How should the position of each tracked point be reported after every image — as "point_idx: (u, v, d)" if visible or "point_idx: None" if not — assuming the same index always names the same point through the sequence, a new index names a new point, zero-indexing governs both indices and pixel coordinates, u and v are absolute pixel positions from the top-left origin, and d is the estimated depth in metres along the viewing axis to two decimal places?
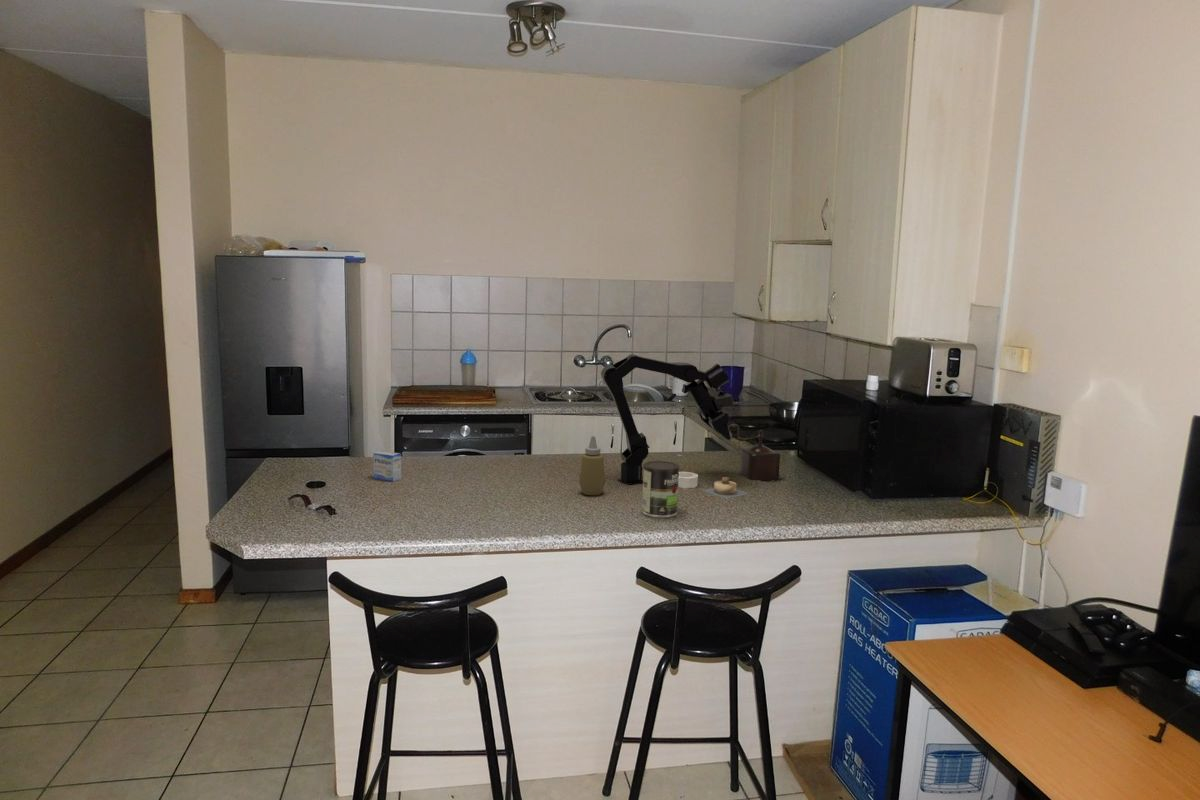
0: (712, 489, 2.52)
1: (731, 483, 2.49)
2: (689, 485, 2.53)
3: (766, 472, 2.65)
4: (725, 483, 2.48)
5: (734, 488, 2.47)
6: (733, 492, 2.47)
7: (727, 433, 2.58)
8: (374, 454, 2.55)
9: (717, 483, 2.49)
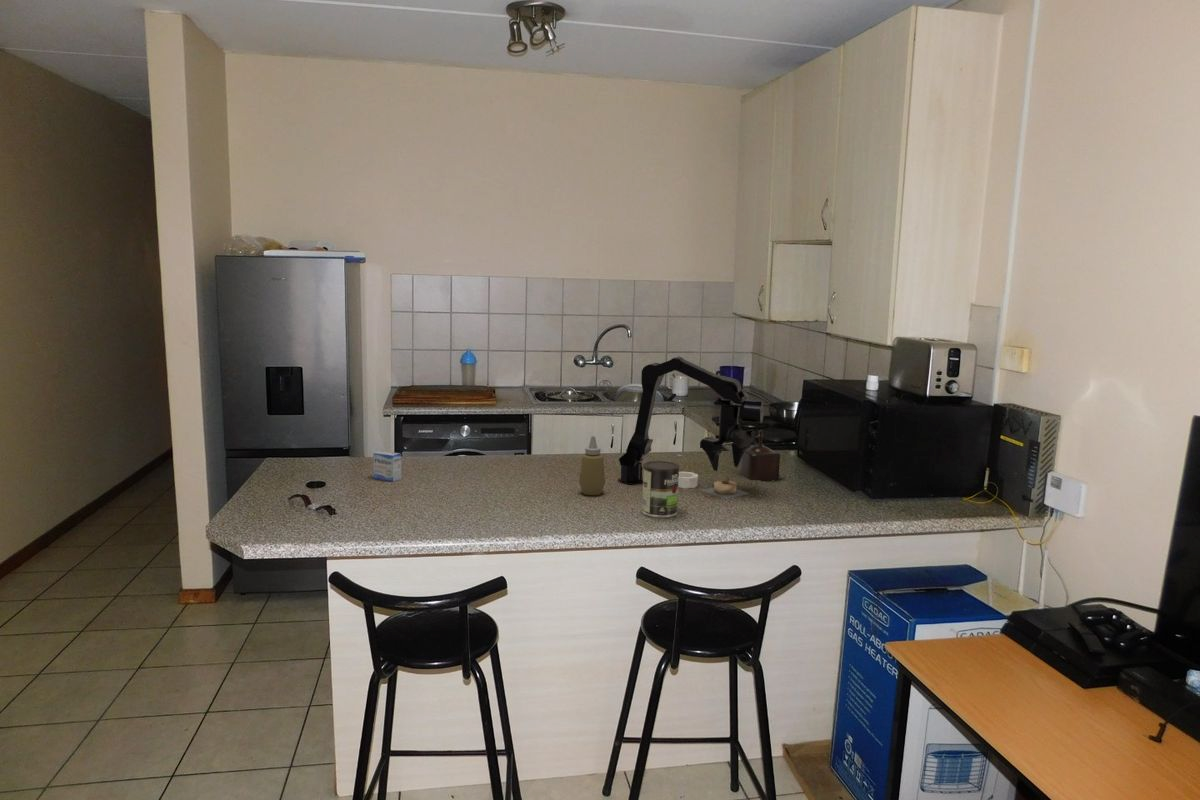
0: (712, 489, 2.52)
1: (731, 483, 2.49)
2: (689, 485, 2.53)
3: (766, 472, 2.65)
4: (725, 483, 2.48)
5: (734, 488, 2.47)
6: (733, 492, 2.47)
7: (714, 463, 2.45)
8: (374, 454, 2.55)
9: (717, 483, 2.49)
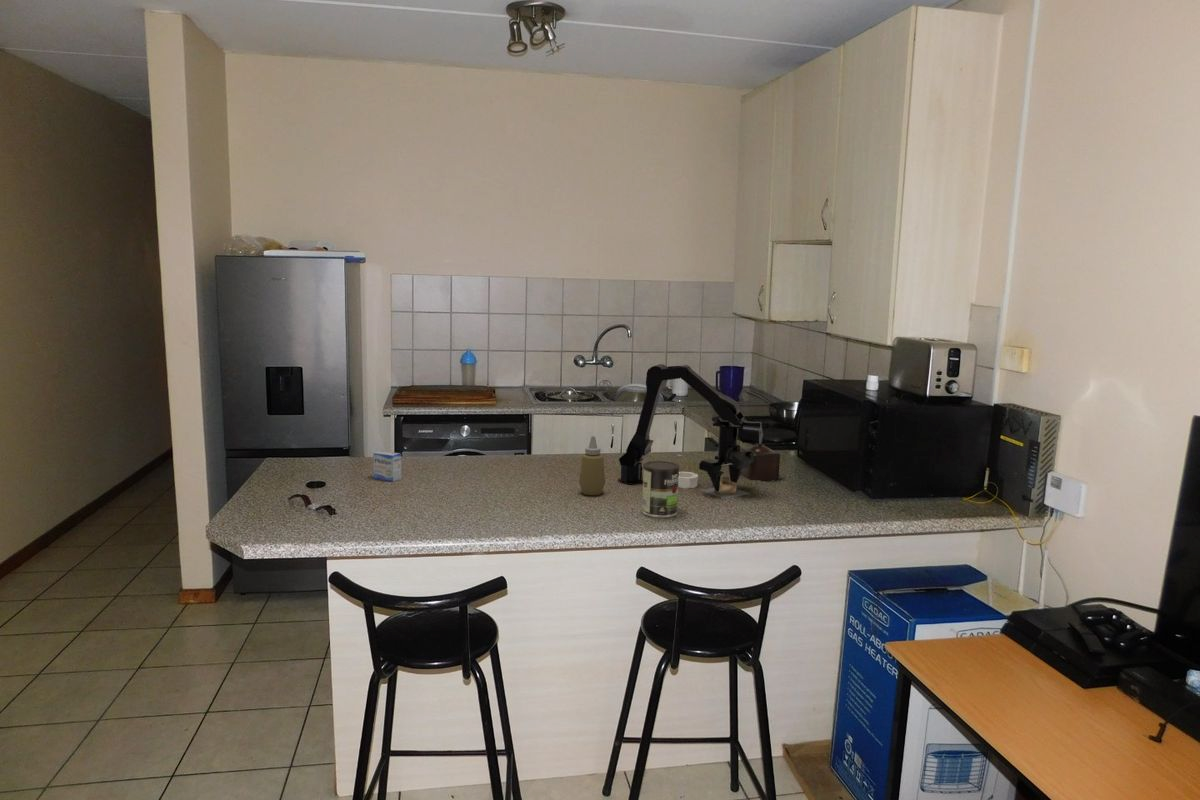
0: (712, 489, 2.52)
1: (731, 483, 2.49)
2: (689, 485, 2.53)
3: (766, 472, 2.65)
4: (725, 483, 2.48)
5: (734, 488, 2.47)
6: (733, 492, 2.47)
7: (716, 484, 2.46)
8: (374, 454, 2.55)
9: None
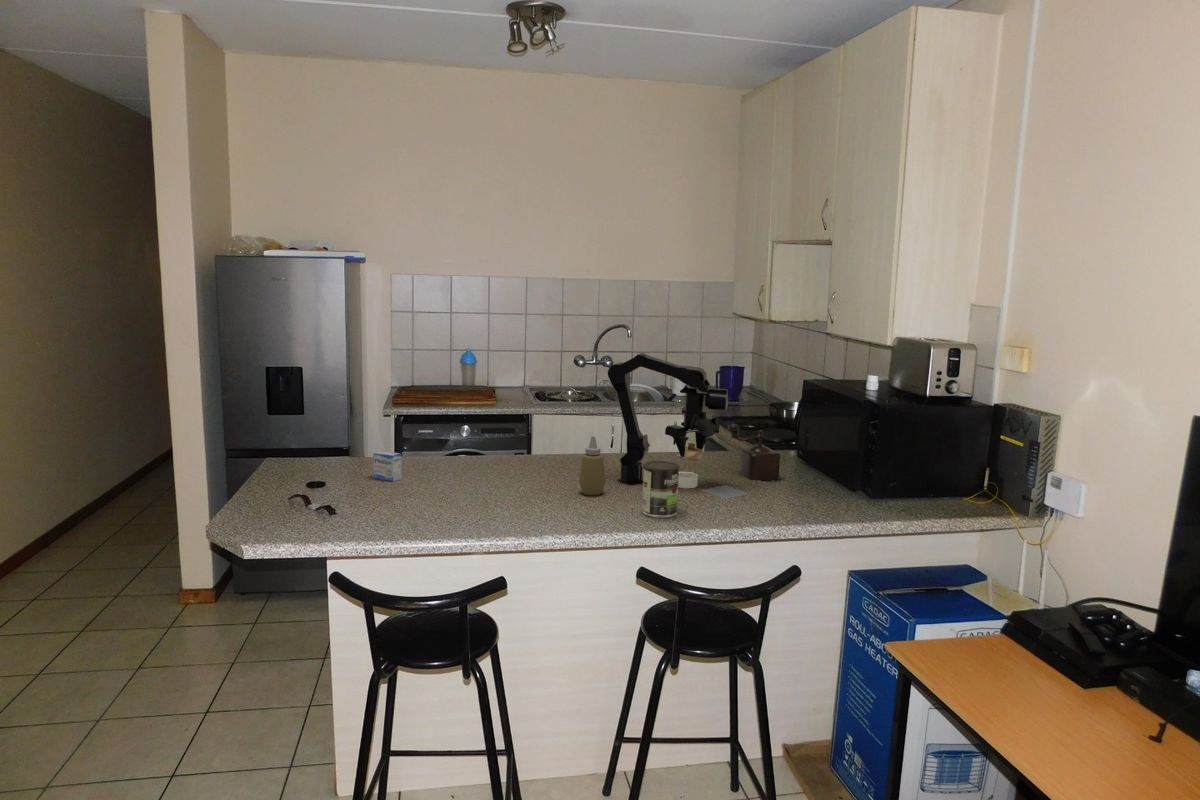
0: (712, 489, 2.52)
1: (697, 449, 2.54)
2: (689, 485, 2.53)
3: (766, 472, 2.65)
4: (691, 449, 2.53)
5: (699, 454, 2.52)
6: (698, 458, 2.52)
7: (681, 449, 2.51)
8: (374, 454, 2.55)
9: None
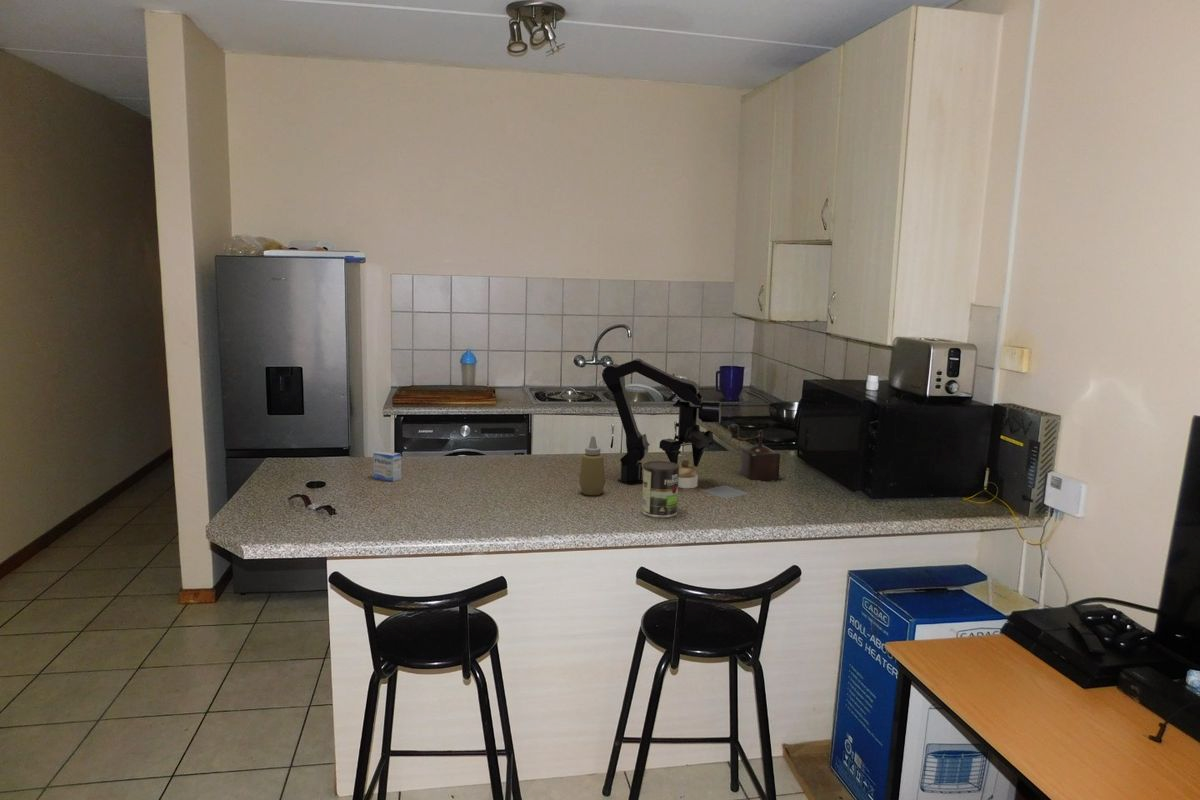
0: (712, 489, 2.52)
1: (690, 466, 2.56)
2: (689, 485, 2.53)
3: (766, 472, 2.65)
4: (684, 466, 2.55)
5: (693, 471, 2.54)
6: (692, 475, 2.54)
7: None
8: (374, 454, 2.55)
9: None
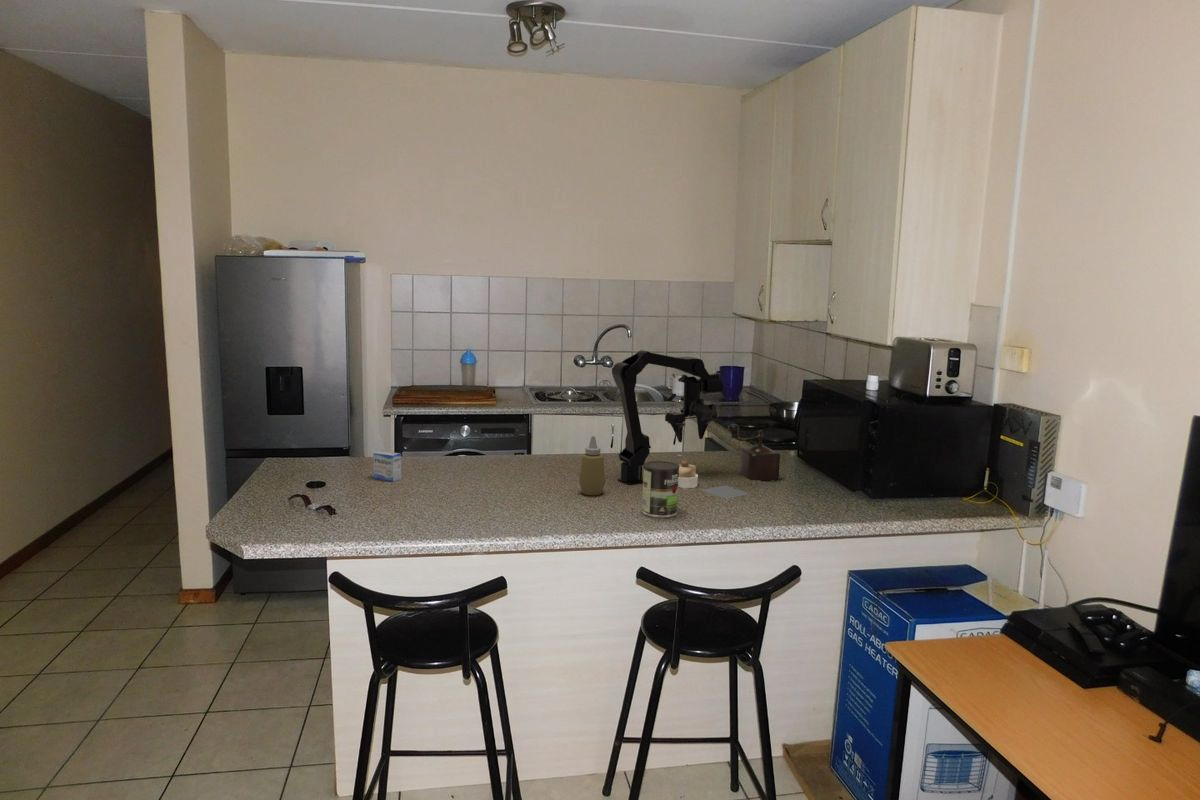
0: (712, 489, 2.52)
1: (690, 466, 2.56)
2: (689, 485, 2.53)
3: (766, 472, 2.65)
4: (684, 466, 2.55)
5: (693, 471, 2.54)
6: (692, 475, 2.54)
7: (679, 435, 2.64)
8: (374, 454, 2.55)
9: None
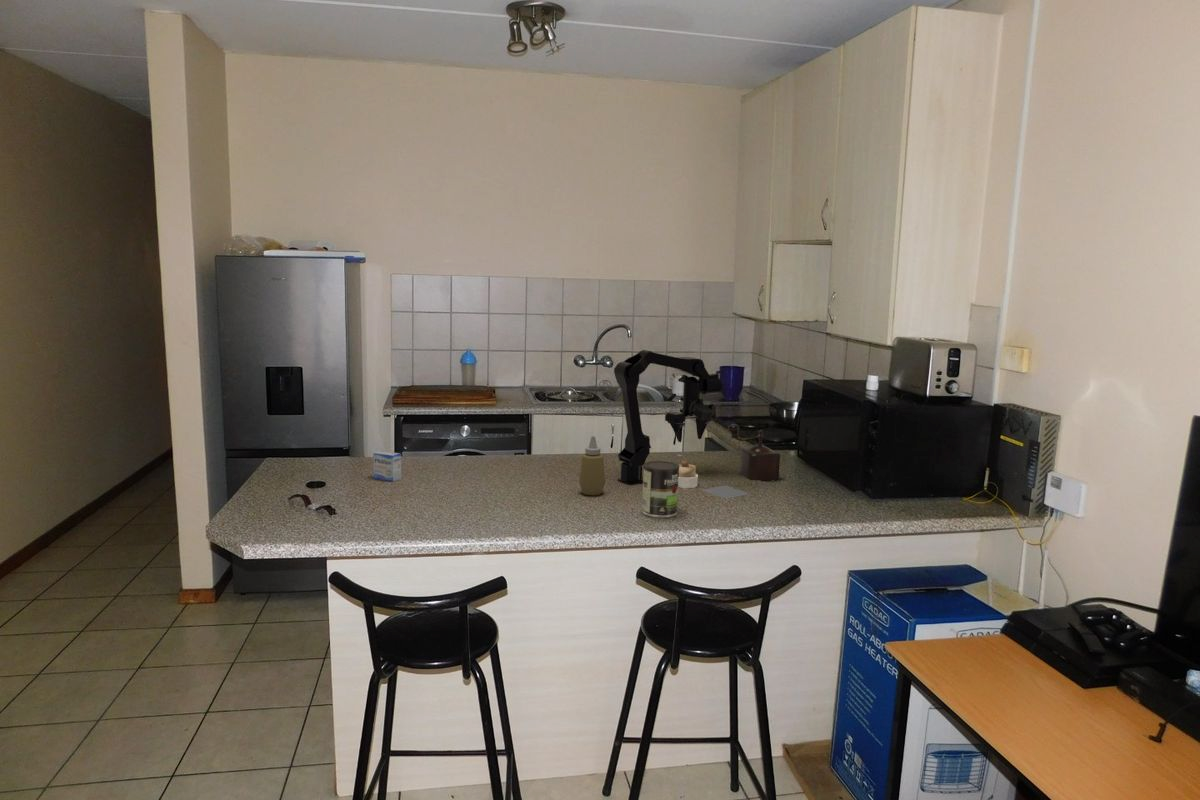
0: (712, 489, 2.52)
1: (690, 466, 2.56)
2: (689, 485, 2.53)
3: (766, 472, 2.65)
4: (684, 466, 2.55)
5: (693, 471, 2.54)
6: (692, 475, 2.54)
7: (678, 435, 2.65)
8: (374, 454, 2.55)
9: None
